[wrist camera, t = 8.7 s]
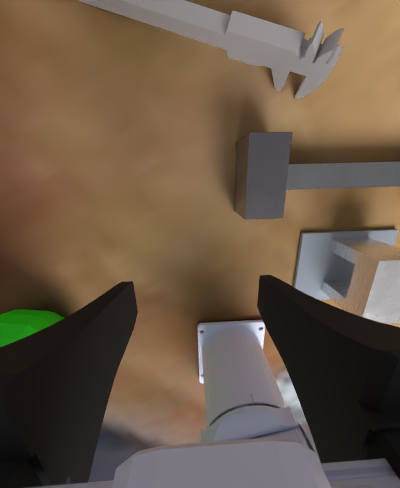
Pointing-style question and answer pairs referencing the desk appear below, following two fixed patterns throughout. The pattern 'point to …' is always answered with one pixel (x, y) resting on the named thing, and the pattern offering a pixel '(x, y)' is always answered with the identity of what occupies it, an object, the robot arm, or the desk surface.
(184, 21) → the caliper
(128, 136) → the desk surface
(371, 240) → the white block
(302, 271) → the mat
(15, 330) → the plastic bottle
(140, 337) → the desk surface
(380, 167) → the vise
